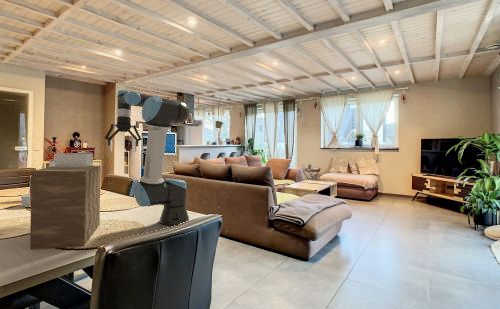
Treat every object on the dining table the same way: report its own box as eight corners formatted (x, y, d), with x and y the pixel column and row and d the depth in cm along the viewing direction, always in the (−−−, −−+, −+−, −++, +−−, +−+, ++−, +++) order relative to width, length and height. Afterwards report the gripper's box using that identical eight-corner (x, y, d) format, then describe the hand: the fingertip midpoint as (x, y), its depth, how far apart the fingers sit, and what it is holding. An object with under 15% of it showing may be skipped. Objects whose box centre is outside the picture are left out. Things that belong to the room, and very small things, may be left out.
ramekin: (24, 204, 172) (24, 193, 172) (49, 203, 178) (49, 192, 178) (17, 209, 160) (17, 197, 160) (45, 207, 166) (45, 196, 166)
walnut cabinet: (57, 227, 129) (58, 165, 128) (99, 225, 135) (100, 165, 134) (30, 249, 102) (31, 171, 102) (84, 245, 108) (85, 171, 107)
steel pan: (76, 162, 146) (77, 151, 146) (101, 163, 150) (101, 152, 150) (54, 167, 116) (54, 153, 116) (86, 168, 120) (86, 154, 119)
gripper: (146, 118, 171) (145, 151, 172) (102, 115, 163) (101, 150, 164) (145, 117, 164) (144, 152, 164) (99, 114, 156) (98, 151, 157)
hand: (123, 151), depth 164 cm, fingers open, 13 cm apart
